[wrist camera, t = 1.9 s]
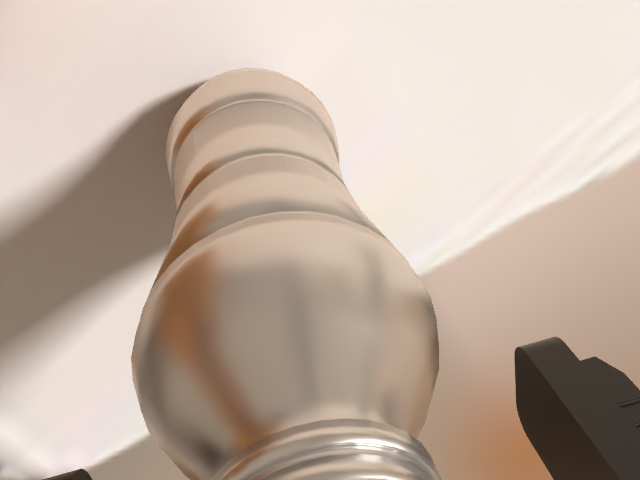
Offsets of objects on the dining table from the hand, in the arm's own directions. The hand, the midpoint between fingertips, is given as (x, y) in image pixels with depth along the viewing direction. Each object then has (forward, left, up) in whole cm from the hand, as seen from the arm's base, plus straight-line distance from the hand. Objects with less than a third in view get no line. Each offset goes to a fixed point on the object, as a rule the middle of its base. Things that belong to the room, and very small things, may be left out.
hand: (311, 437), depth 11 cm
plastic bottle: (0, 0, -17) cm, 17 cm away
